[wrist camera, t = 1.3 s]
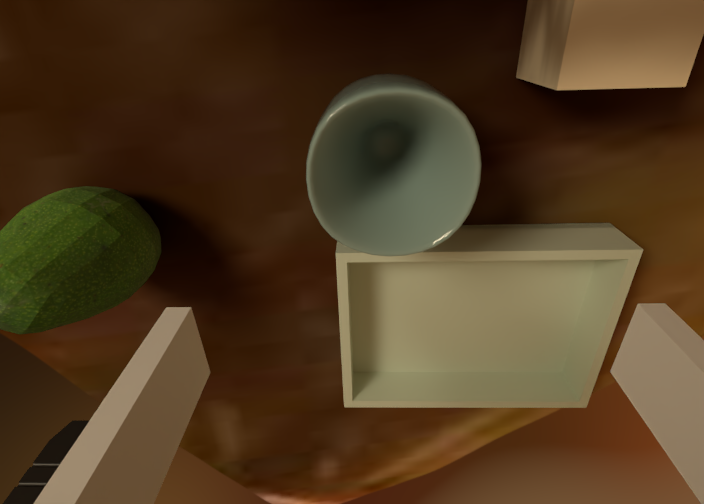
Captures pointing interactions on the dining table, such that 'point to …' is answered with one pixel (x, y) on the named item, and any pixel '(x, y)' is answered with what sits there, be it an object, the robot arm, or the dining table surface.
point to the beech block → (610, 43)
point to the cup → (392, 166)
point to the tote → (484, 317)
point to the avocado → (73, 257)
